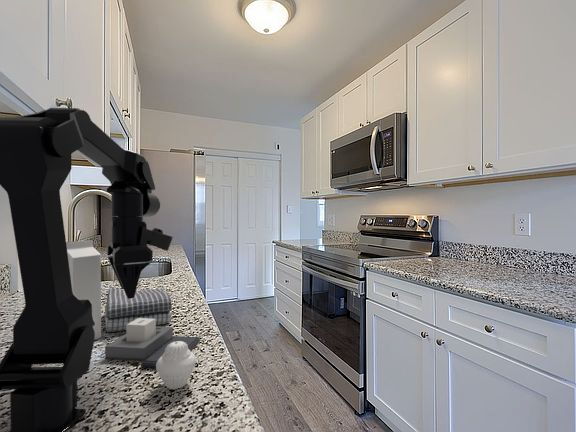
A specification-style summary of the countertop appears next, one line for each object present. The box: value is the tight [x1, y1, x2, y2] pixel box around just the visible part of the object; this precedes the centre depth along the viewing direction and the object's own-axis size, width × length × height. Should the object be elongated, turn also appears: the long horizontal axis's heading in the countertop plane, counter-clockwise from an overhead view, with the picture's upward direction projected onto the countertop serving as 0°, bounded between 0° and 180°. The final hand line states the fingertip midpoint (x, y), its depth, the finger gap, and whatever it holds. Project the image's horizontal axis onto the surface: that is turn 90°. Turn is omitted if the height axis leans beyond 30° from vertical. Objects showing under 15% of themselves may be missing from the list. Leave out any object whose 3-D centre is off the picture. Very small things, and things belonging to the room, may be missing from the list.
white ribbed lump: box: [155, 341, 197, 390], centre depth 50 cm, size 6×6×7 cm
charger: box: [125, 318, 157, 342], centre depth 63 cm, size 4×4×5 cm
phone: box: [140, 335, 201, 370], centre depth 61 cm, size 12×6×1 cm, turn 173°
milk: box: [66, 239, 102, 341], centre depth 67 cm, size 6×6×22 cm
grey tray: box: [104, 325, 174, 362], centre depth 63 cm, size 11×8×2 cm
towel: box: [104, 287, 173, 333], centre depth 81 cm, size 15×18×8 cm
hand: (127, 293), depth 62 cm, fingers open, 9 cm apart
